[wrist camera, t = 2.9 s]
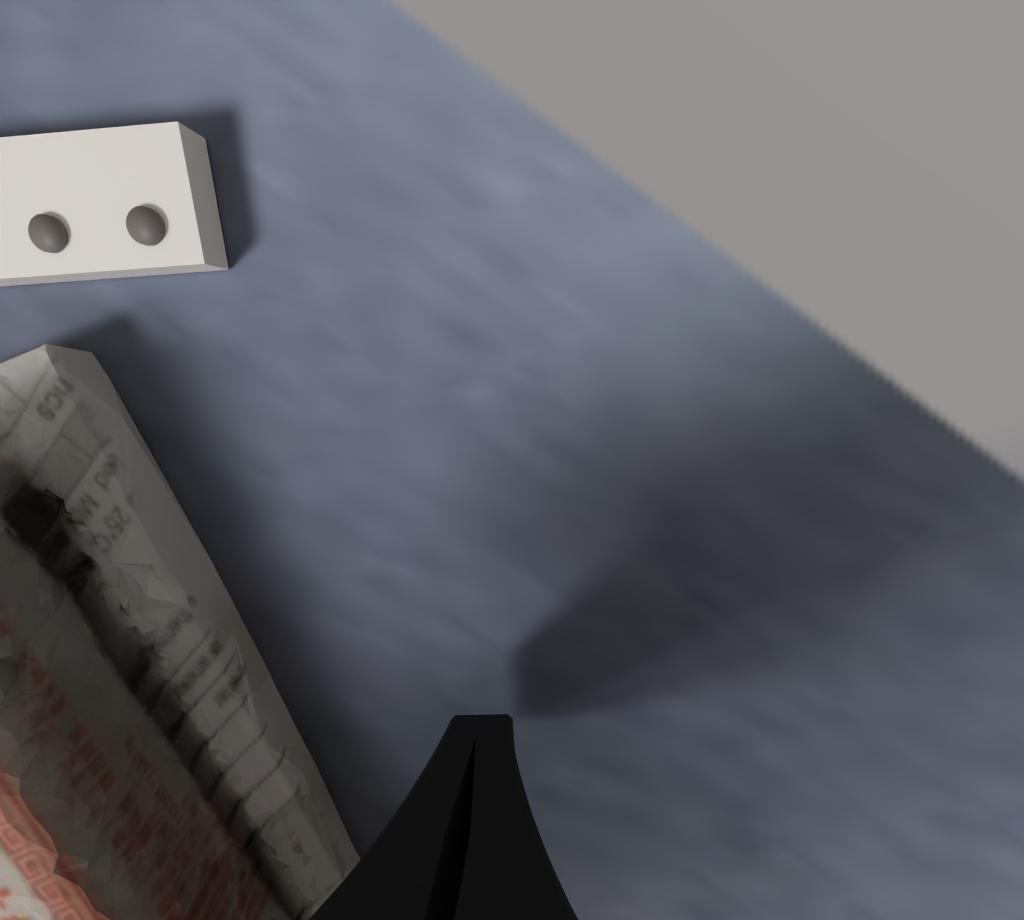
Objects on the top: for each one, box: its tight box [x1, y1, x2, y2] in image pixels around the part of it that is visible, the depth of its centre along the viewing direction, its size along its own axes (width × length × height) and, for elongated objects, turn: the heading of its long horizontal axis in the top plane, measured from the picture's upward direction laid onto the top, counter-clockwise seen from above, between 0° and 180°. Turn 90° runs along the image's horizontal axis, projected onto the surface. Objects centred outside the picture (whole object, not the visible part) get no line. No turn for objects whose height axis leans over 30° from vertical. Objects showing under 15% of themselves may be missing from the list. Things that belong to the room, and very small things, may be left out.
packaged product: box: [0, 344, 361, 920], centre depth 12 cm, size 18×5×10 cm
